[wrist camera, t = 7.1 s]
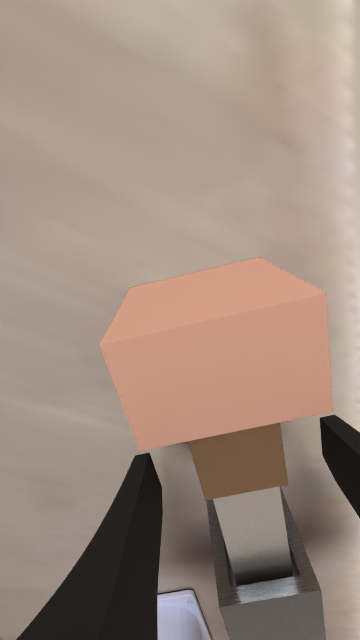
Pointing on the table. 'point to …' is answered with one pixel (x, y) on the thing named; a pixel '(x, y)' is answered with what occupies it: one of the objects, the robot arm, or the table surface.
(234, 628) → the outer sleeve
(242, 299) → the socket block
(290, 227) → the table surface
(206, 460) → the tube
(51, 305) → the table surface
